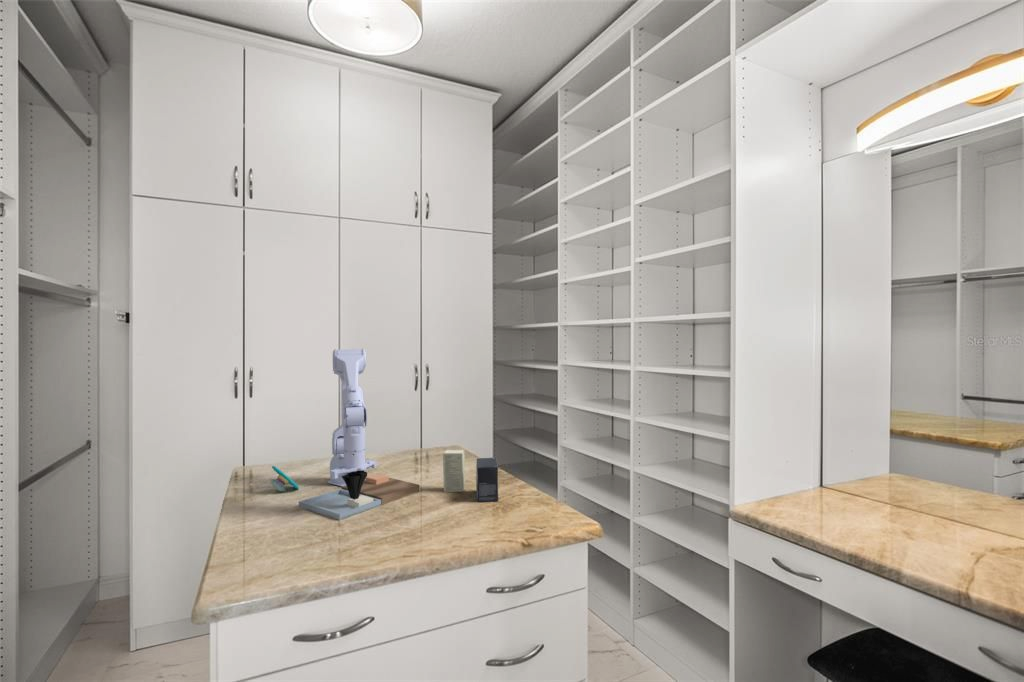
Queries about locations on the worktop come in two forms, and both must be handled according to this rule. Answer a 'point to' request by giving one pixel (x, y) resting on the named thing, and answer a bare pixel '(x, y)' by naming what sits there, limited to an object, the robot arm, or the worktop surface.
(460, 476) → the skincare box
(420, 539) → the worktop surface
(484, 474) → the small box
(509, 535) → the worktop surface
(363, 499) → the cream tile
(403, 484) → the walnut board
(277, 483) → the ornament
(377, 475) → the terracotta tile
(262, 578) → the worktop surface
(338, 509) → the box
